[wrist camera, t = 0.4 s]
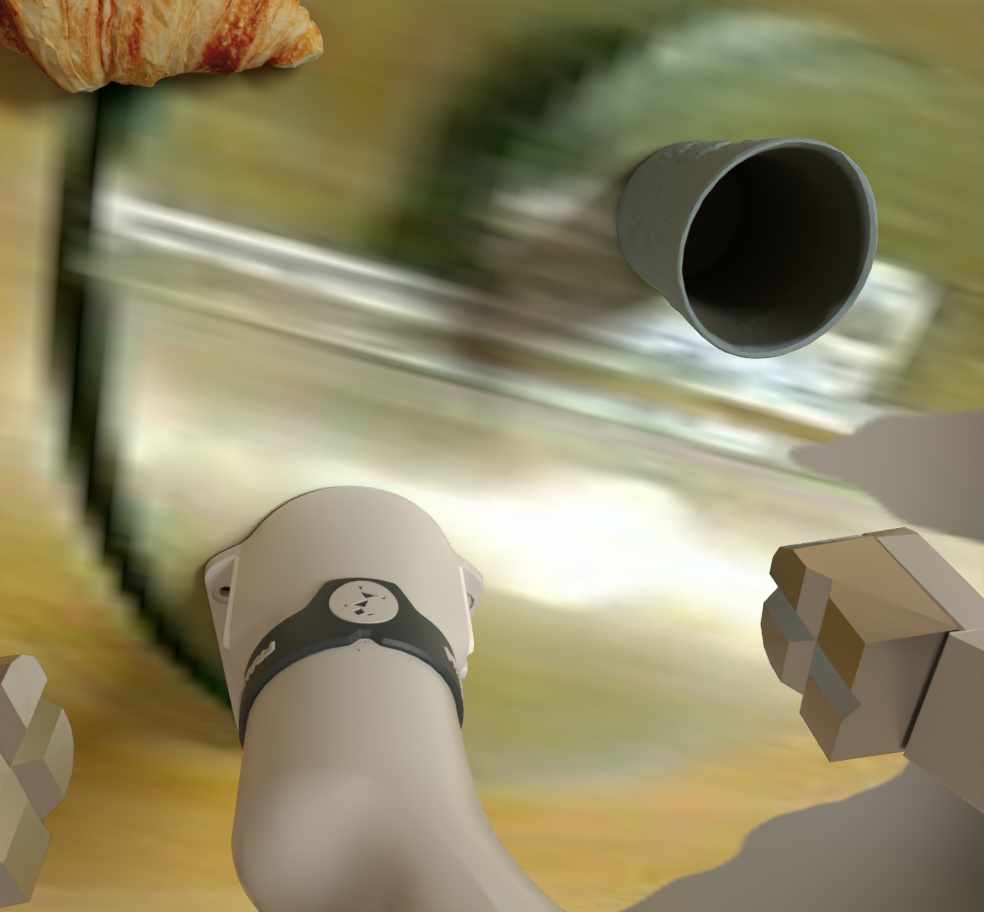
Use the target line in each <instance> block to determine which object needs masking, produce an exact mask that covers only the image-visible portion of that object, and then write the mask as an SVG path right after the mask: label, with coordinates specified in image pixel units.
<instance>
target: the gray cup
mask: <svg viewBox="0 0 984 912" xmlns="http://www.w3.org/2000/svg"><path fill="white" fill-rule="evenodd" d="M616 228H617V236H618V241H619V245H620V249H621V252H622V254H623V255H624V257H625V259H626V261H627V262H628V264H629V265H630V266H631V268H632V269H633V270H634V271H635V272H636V273H637V274H638V275H639V276H640V277H641V278H642V279H643V280H644V281H645V282H646V283H647V284H648V285H649V286H651V287H652V288H654V289H656V290H658V291H660V292H661V293H662V294H663V295H664V297H665V298H666V300H667V301H668V302H669V303H670V305H671V306H672V307H673V308H674V309H675V310H677V311H678V312H680V313H681V314H682V316H683V317H684V318H685V319H686V320H687V321H688V323H689V324H690V325H691V326H692V327H693V328H694V329H695V330H696V331H697V332H698V333H699V334H700V335H701V336H702V337H703V338H705V339H706V340H707V341H708V342H710V343H711V344H712V345H714V346H715V347H717V348H718V349H720V350H722V351H724V352H726V353H729V354H732V355H736V356H739V357H744V358H770V357H776V356H781V355H784V354H787V353H790V352H792V351H795V350H798V349H800V348H802V347H804V346H807V345H809V344H810V343H812V342H813V341H815V340H816V339H818V338H819V337H820V336H822V335H823V334H825V333H826V332H828V331H829V330H830V329H831V328H832V327H833V326H834V325H835V324H836V323H837V322H838V321H840V319H841V318H842V317H843V316H844V315H845V313H846V312H847V311H848V310H849V309H850V308H851V306H852V305H853V303H854V302H855V300H856V298H857V297H858V295H859V294H860V292H861V290H862V289H863V287H864V284H865V282H866V280H867V278H868V275H869V273H870V271H871V269H872V264H873V260H874V256H875V252H876V248H877V240H878V221H877V212H876V205H875V200H874V196H873V192H872V189H871V187H870V185H869V182H868V180H867V178H866V177H865V175H864V174H863V172H862V171H861V169H860V168H859V167H858V166H857V165H856V164H855V163H854V162H853V161H852V160H851V159H850V158H849V157H848V156H847V155H846V154H845V153H843V152H841V151H840V150H838V149H836V148H834V147H833V146H831V145H829V144H827V143H824V142H821V141H818V140H814V139H809V138H797V137H789V138H776V139H764V140H744V141H743V142H741V143H739V142H736V143H731V142H729V141H712V142H710V141H688V142H680V143H677V144H674V145H671V146H668V147H666V148H664V149H662V150H660V151H658V152H657V153H655V154H654V155H652V156H651V157H649V158H648V159H647V160H646V161H645V162H644V163H643V164H641V165H640V166H639V168H638V169H637V170H636V171H635V172H634V173H633V175H632V176H631V178H630V180H629V181H628V183H627V184H626V186H625V188H624V191H623V193H622V195H621V198H620V202H619V206H618V211H617V223H616Z"/></svg>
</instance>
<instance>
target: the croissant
mask: <svg viewBox="0 0 984 912" xmlns="http://www.w3.org/2000/svg"><path fill="white" fill-rule="evenodd" d="M0 45H2V46H3V47H5V48H7V49H9V50H11V51H14V52H16V53H18V54H20V55H22V56H24V57H26V58H30V59H32V60H35V62H36V63H37V65H38V66H39V67H40V68H41V69H42V70H43V71H44V72H45V73H46V75H47V76H48V77H49V78H50V79H51V80H52V81H53V82H54V83H55V84H56V85H57V86H58V87H60V88H62V89H64V90H66V91H68V92H70V93H76V92H80V91H86V92H93V91H95V90H97V89H99V88H101V87H103V86H105V85H107V84H108V83H109V82H110V81H115V82H118V83H121V84H123V85H128V84H133V85H139V86H145V87H153V86H154V84H155V82H157V81H158V80H160V79H161V78H164V77H169V76H175V75H177V74H181V73H189V72H205V73H214V74H222V75H229V74H232V73H236V72H241V71H242V70H244V69H251V68H257V67H261V66H262V65H263V64H264V63H267V64H268V65H270V66H274V67H280V68H295V67H296V66H298V65H301V64H307V63H310V62H313V61H315V60H316V59H318V58H319V57H320V56H321V55H322V54H323V40H322V36H321V33H320V31H319V29H318V27H317V26H316V24H315V23H314V21H313V20H310V19H309V13H308V11H307V10H306V8H305V7H303V6H300V5H299V0H0Z"/></svg>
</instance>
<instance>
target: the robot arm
mask: <svg viewBox="0 0 984 912" xmlns="http://www.w3.org/2000/svg"><path fill="white" fill-rule="evenodd" d="M769 574H770V575H771V577H772V578H773V580H774V581H775V583H776V584H777V586H778V588H777V589H776V590H775V591H774V592H773V593H772V594H771V595H770V596H769V597H768V599H767V600H766V601H765V602H764V604H763V611H762V618H761V630H762V637H763V644H764V648H765V651H766V654H767V656H768V659H769V662H770V664H771V666H772V668H773V669H774V671H775V673H776V675H777V676H778V678H779V680H780V681H781V682H782V683H784V684H785V685H787V686H789V687H790V688H792V689H794V690H795V691H797V692H799V693H800V694H802V695H803V697H802V702H801V707H800V715H801V716H802V718H803V719H804V721H805V723H806V724H807V726H808V728H809V729H810V731H811V732H812V734H813V736H814V737H815V739H816V741H817V742H818V744H819V745H820V747H821V749H822V750H823V752H824V754H825V755H826V757H827V758H828V760H829V762H835V761H842V760H849V759H855V758H862V757H869V756H876V755H883V754H890V753H897V752H904V751H905V752H904V754H903V756H905V757H906V758H907V759H909V760H910V761H911V762H913V763H914V764H916V765H917V766H918V767H920V768H921V769H923V770H924V771H925V772H927V773H928V774H929V775H931V776H932V777H934V778H935V779H936V780H938V781H939V782H941V783H942V784H943V785H945V786H946V787H947V788H949V789H950V790H952V791H953V792H954V793H956V794H957V795H958V796H960V797H961V798H963V799H964V800H966V801H967V802H968V803H969V804H971V805H973V806H974V807H975V808H977V809H978V810H979V811H981V812H982V813H983V814H984V598H983V597H982V596H981V595H980V594H979V593H978V592H977V591H976V590H975V589H974V588H973V587H972V586H971V585H970V584H969V583H968V582H967V581H966V580H965V579H964V578H963V577H962V576H961V575H960V574H959V573H958V572H957V571H956V570H955V569H954V568H953V567H952V566H951V565H950V564H949V563H948V562H947V561H946V560H945V559H944V558H943V557H942V556H941V555H940V554H939V553H938V552H937V551H935V550H934V549H933V548H932V547H931V546H930V545H929V544H928V543H927V542H926V541H925V540H924V539H923V538H922V537H921V536H920V535H919V534H918V533H917V532H915V531H913V530H910V529H908V528H906V527H903V528H896V529H890V530H884V531H877V532H871V533H865V534H862V535H855V536H848V537H841V538H835V539H828V540H822V541H815V542H808V543H802V544H795V545H788V546H782V547H779V549H778V550H777V552H776V553H775V555H774V556H773V559H772V564H771V569H770V573H769ZM204 579H205V585H206V590H207V595H208V599H209V604H210V608H211V613H212V617H213V622H214V627H215V631H216V636H217V640H218V645H219V650H220V654H221V659H222V663H223V668H224V672H225V677H226V682H227V686H228V691H229V695H230V700H231V705H232V709H233V714H234V718H235V723H236V726H237V729H238V731H239V738H240V742H241V746H242V749H243V755H242V762H241V770H240V778H239V785H238V793H237V800H236V808H235V815H234V823H233V830H232V837H231V849H232V856H233V863H234V866H235V870H236V873H237V876H238V879H239V881H240V883H241V885H242V887H243V889H244V891H245V893H246V894H247V896H248V897H249V899H250V900H251V902H252V903H253V904H254V906H255V907H256V908H257V909H258V911H259V912H566V911H564V910H563V909H562V908H561V907H560V906H559V905H557V904H556V903H555V902H554V901H553V900H552V899H551V898H550V897H549V896H548V895H547V894H546V893H545V892H544V891H542V890H541V889H540V888H539V887H538V885H537V884H536V883H535V882H534V881H533V880H532V879H531V878H530V877H529V876H528V875H527V874H526V873H525V872H524V871H523V869H522V868H521V867H520V866H519V865H518V863H517V862H516V861H515V860H514V859H513V857H512V856H511V855H510V854H509V852H508V851H507V850H506V848H505V847H504V845H503V844H502V842H501V841H500V840H499V838H498V837H497V835H496V834H495V832H494V830H493V828H492V826H491V825H490V823H489V821H488V819H487V817H486V815H485V813H484V810H483V808H482V805H481V802H480V799H479V796H478V793H477V789H476V786H475V783H474V780H473V776H472V773H471V769H470V766H469V762H468V758H467V755H466V751H465V746H464V742H463V738H462V734H461V727H462V723H463V701H462V699H463V687H462V681H461V680H464V679H465V677H466V674H467V669H468V663H467V660H466V659H467V655H469V654H471V653H472V652H473V648H474V639H473V632H472V625H471V618H472V616H473V614H474V612H475V609H476V607H477V605H478V602H479V600H480V598H481V596H482V593H483V590H484V583H483V576H482V574H481V573H480V571H479V570H478V569H477V568H476V567H474V566H473V565H472V564H471V563H469V562H468V561H466V560H465V559H463V558H462V557H460V556H459V555H457V554H456V552H455V551H454V550H453V549H452V547H451V546H450V544H449V542H448V540H447V538H446V537H445V535H444V533H443V531H442V530H441V528H440V527H439V525H438V524H437V523H436V522H435V521H434V520H433V518H432V517H431V516H430V515H429V514H427V513H426V512H425V511H424V510H423V509H422V508H420V507H419V506H417V505H416V504H414V503H413V502H411V501H409V500H407V499H406V498H403V497H401V496H399V495H397V494H394V493H391V492H388V491H385V490H381V489H376V488H370V487H362V486H342V487H333V488H326V489H322V490H318V491H314V492H311V493H308V494H305V495H303V496H300V497H298V498H296V499H294V500H292V501H290V502H288V503H287V504H285V505H283V506H282V507H280V508H279V509H277V510H276V511H275V512H274V513H272V514H271V515H270V516H269V517H268V518H267V519H266V520H265V521H264V522H263V523H262V524H261V525H260V526H259V527H258V528H257V529H256V530H255V532H254V533H253V534H252V535H251V536H250V537H249V538H248V539H246V540H245V541H244V542H243V543H241V544H239V545H236V546H234V547H232V548H230V549H228V550H226V551H223V552H222V553H220V554H218V555H216V556H215V557H213V558H212V559H211V560H210V561H209V562H208V563H207V564H206V567H205V577H204ZM225 586H227V587H230V591H225V590H223V589H222V587H225ZM46 681H47V677H46V675H45V674H44V672H43V670H42V668H41V667H40V665H39V663H38V662H37V660H36V658H35V657H33V656H27V655H13V656H5V657H0V908H2V907H7V906H12V905H17V904H22V903H27V902H29V901H30V898H31V895H32V892H33V889H34V886H35V883H36V880H37V877H38V875H39V872H40V869H41V866H42V863H43V860H44V857H45V854H46V851H47V848H48V845H49V842H50V839H51V836H50V834H49V832H48V830H47V829H46V827H45V825H44V823H43V821H42V819H43V818H44V817H45V816H46V815H47V814H48V813H49V812H50V811H51V810H52V809H53V808H54V807H55V806H56V805H57V804H58V803H59V802H60V801H61V800H62V799H63V798H64V797H65V794H66V791H67V788H68V785H69V782H70V778H71V775H72V772H73V756H74V740H73V735H72V731H71V726H70V722H69V720H68V718H67V716H66V714H65V712H64V710H63V708H62V707H60V706H59V705H57V704H55V703H53V702H51V701H49V700H47V699H46V698H44V697H42V696H41V693H42V691H43V689H44V686H45V684H46Z"/></svg>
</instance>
